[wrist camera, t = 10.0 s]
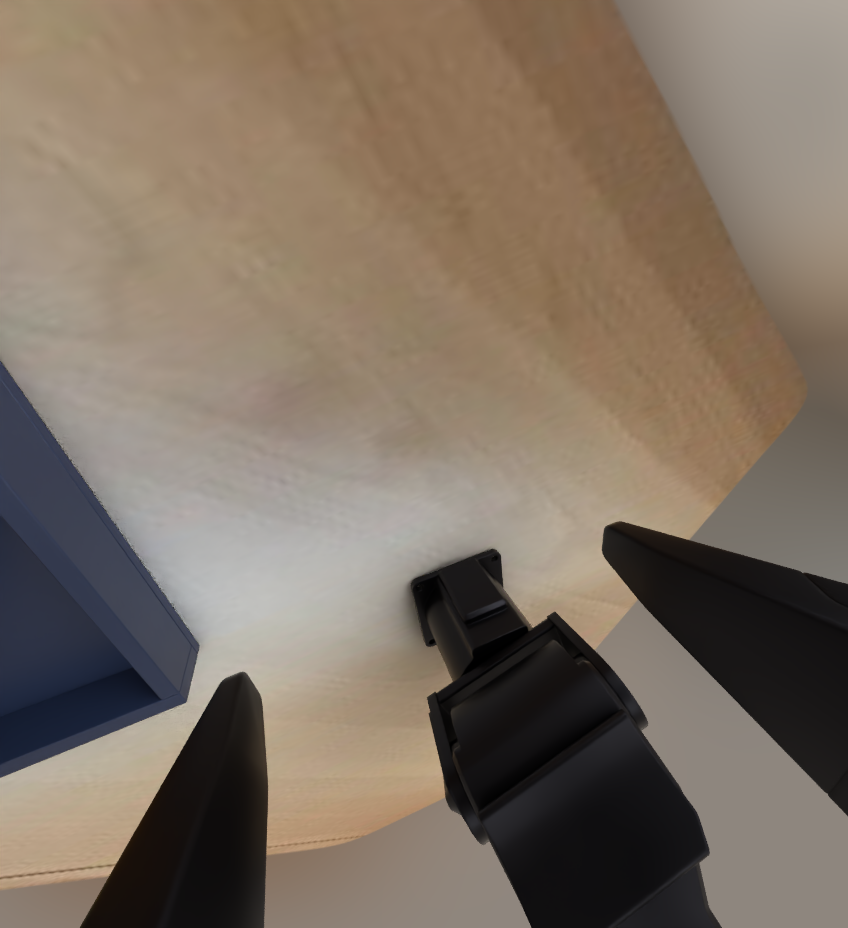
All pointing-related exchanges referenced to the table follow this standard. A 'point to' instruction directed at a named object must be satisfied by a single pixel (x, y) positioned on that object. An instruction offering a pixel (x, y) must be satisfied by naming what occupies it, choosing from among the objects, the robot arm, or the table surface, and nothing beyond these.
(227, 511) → the table surface
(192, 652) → the tray
